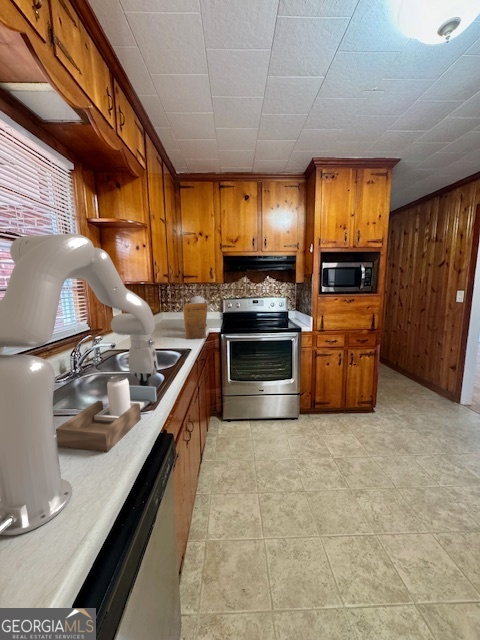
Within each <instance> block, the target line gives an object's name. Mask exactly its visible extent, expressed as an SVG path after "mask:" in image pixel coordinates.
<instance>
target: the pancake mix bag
mask: <svg viewBox="0 0 480 640" xmlns="http://www.w3.org/2000/svg"><path fill="white" fill-rule="evenodd" d="M182 311H183V312H182V313H183V322H184V324H183V325H184V331H185V340H201V339H206V338H207V333H206V332H207V326H206V324H207V318H208V317H207V316H208V310H207V303H206V302H204V303H195V304H191V303H185V304H184V305H183V306H182Z"/></svg>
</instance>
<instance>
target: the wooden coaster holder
mask: <svg viewBox="0 0 480 640" xmlns="http://www.w3.org/2000/svg"><path fill="white" fill-rule="evenodd" d="M103 409H104V401H103V400H97V401H96V402H94V403H93V404H91V405H89V406H88V407H87V408H85V409H84V410H82V411H80V412H79V413H77V414H76V415H74V416H73V417H71V418H69V420H67V421H66V422H64V423H62V424H60V425H59V426H58V427H55V432H56V440H57V448H61V449H69V450H81V451H89V452H91V451H92V452H98V453H99V452H100V453H109V452H110V451H111V449H113V448H114V447H115V446H116V445H117V444H118V442H120V441H121V439H122V438H124V437H125V436H126V435H127V434H128V433H129V432H130V431H131V429H133V427H135V426H136V425H137V424H138V423H139V422H140V421H141V420H142V417H141V415H142V414H141V411H140V404H139V403H135V404H134V405H133V406H132V407H131V408H129V409H128V410H127V411H126V412H125V413H124V414H122V415H121V416H120V417H119V418H118V419H116V420H115V421H114V422H113V423H109V422H97V421H94V416H95V415H96V414H97V413H99V412H100V411H102V410H103Z"/></svg>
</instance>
